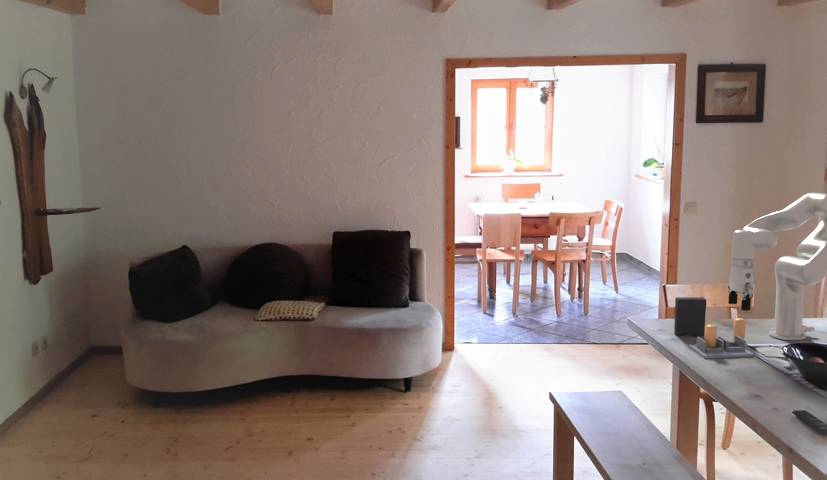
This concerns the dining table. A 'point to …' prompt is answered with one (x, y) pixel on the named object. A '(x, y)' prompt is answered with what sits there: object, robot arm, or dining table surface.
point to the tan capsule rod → (739, 328)
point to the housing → (719, 345)
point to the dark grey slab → (690, 316)
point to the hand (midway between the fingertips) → (739, 307)
